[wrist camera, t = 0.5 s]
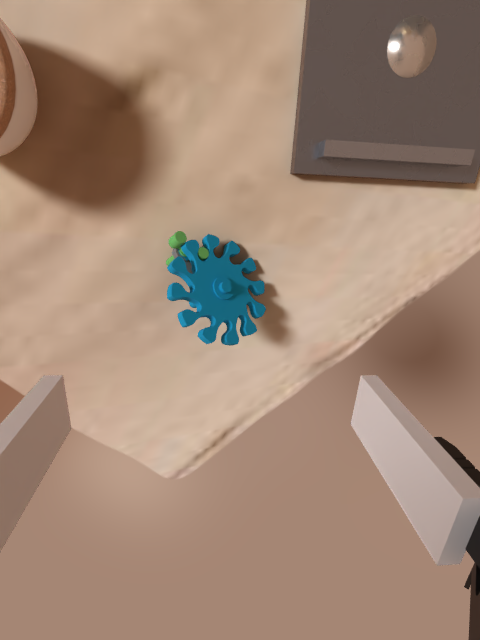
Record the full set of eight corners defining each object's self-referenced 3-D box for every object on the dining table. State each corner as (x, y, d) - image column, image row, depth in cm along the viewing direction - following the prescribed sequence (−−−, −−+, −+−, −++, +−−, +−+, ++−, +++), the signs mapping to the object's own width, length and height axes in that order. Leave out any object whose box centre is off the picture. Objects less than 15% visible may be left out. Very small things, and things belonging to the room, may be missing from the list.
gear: (286, 302, 33) (224, 368, 27) (249, 315, 37) (189, 374, 31) (222, 204, 30) (138, 253, 24) (191, 230, 35) (114, 277, 29)
